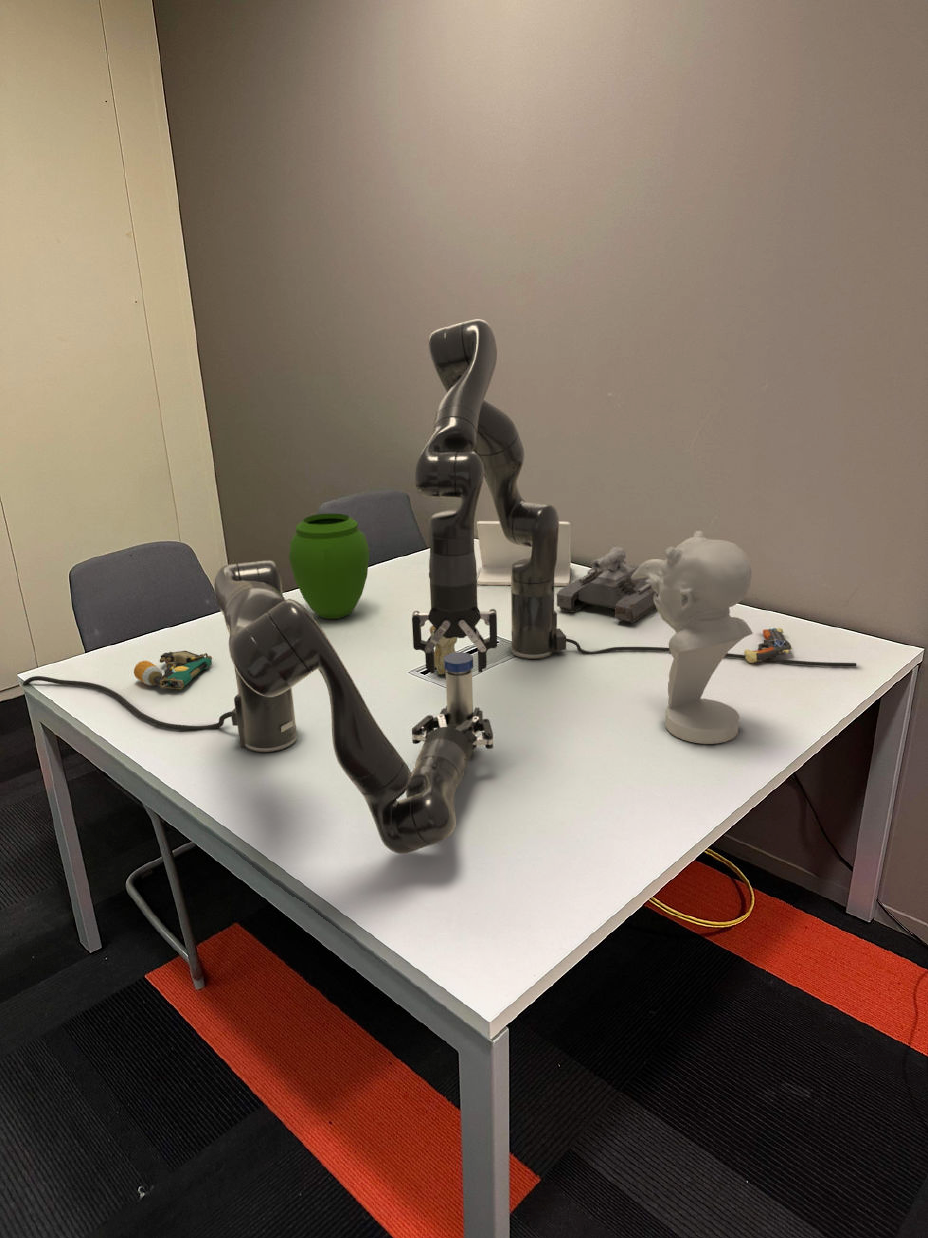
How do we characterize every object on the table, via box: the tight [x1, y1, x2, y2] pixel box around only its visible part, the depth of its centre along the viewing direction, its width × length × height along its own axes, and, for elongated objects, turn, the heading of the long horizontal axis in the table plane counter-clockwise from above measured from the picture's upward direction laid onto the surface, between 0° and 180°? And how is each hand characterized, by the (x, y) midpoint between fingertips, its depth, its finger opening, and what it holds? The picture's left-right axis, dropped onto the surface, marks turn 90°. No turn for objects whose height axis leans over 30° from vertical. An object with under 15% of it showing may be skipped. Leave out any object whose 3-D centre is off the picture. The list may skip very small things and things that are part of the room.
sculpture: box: [429, 625, 458, 675], centre depth 177 cm, size 6×7×15 cm
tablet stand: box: [476, 520, 572, 587], centre depth 236 cm, size 18×25×17 cm
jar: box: [445, 668, 475, 758], centre depth 144 cm, size 4×4×17 cm
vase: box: [288, 512, 370, 620], centre depth 209 cm, size 20×20×24 cm
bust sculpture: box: [631, 530, 754, 745], centre depth 151 cm, size 16×24×35 cm, turn 28°
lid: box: [444, 651, 474, 673], centre depth 141 cm, size 5×5×2 cm
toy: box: [556, 546, 656, 624], centre depth 212 cm, size 25×20×15 cm
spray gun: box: [133, 650, 213, 690], centre depth 180 cm, size 4×17×15 cm
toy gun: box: [743, 627, 794, 664], centre depth 185 cm, size 3×19×10 cm
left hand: (463, 711), depth 147 cm, fingers closed on jar, 4 cm apart
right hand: (456, 671), depth 142 cm, fingers open, 7 cm apart
